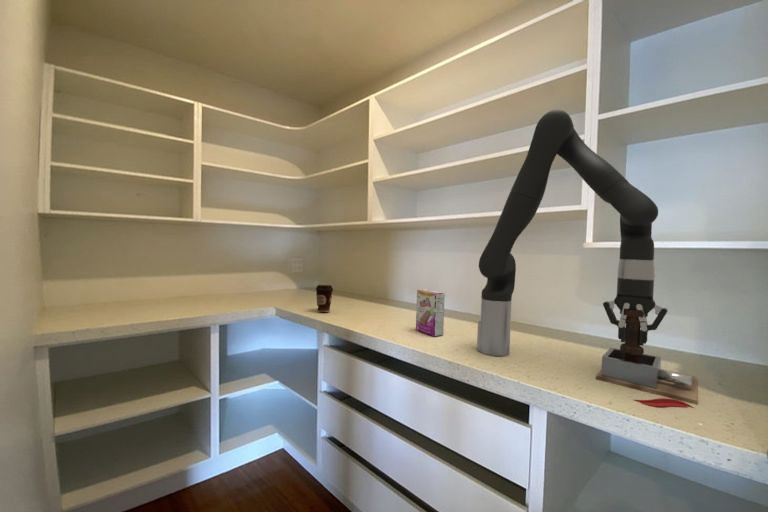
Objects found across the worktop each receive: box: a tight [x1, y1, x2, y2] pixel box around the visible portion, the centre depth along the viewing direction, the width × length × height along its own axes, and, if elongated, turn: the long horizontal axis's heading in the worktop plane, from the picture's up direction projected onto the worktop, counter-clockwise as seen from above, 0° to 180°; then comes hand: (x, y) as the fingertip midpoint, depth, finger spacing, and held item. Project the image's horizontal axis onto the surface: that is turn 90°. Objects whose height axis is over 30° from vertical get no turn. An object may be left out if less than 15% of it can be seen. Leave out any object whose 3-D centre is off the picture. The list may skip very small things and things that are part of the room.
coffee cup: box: [315, 284, 334, 313], centre depth 164 cm, size 9×8×13 cm
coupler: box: [601, 347, 693, 391], centre depth 85 cm, size 17×18×5 cm
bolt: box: [619, 309, 649, 363], centre depth 85 cm, size 6×5×15 cm
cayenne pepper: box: [633, 397, 695, 409], centre depth 71 cm, size 12×5×2 cm, turn 64°
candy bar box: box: [415, 288, 446, 337], centre depth 127 cm, size 11×5×16 cm, turn 34°
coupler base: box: [595, 368, 698, 406], centre depth 85 cm, size 19×20×1 cm
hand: (632, 342), depth 85 cm, fingers closed on bolt, 3 cm apart
